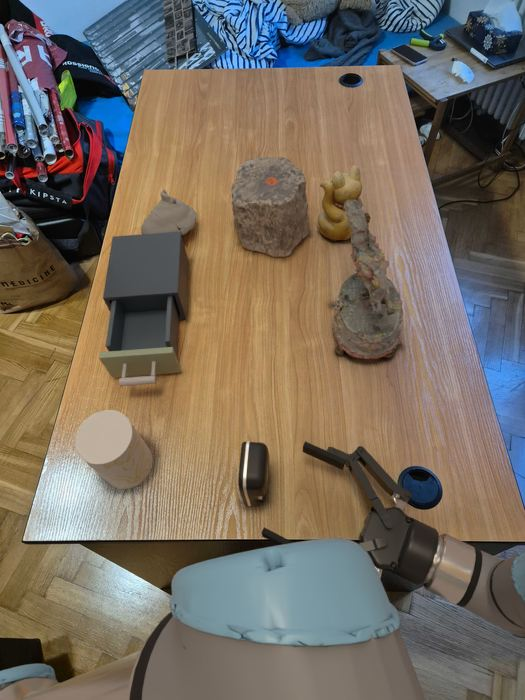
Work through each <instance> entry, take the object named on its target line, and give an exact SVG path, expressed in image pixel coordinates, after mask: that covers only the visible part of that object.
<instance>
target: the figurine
mask: <svg viewBox="0 0 525 700" xmlns="http://www.w3.org/2000/svg"><path fill="white" fill-rule="evenodd" d="M344 207H345V212H346V216H347V217H348V223H349V224H350V227H351V230H352V232H351V237H350V241H351V254H350V257H351V259H352V262H353V265H354V266H355V273H353V274H351V275H350V276H348V277H347V279H346V280H344V282H343V283H342V284H341V285H342V286H341V287H340V290H339V292H338V296H337V298H336V301H335V303H333V304H331V306H334V312H333V321H332V331H333V333H334V336H335V340H336V341H337V345H338V346H337V347H336V348H335V349H334V351H335V353H336V354H337V355H338V356H340V357H349V358H350V357H351V358H355V359H363V360H364V359H365V360H377V359H380V358H383V357H385V358H386V359H392V358H393V357H394V356H395V352H397V351H398V350H399V349H400V348H401V347H402V346H403V341H402V339H401V338H400V335H401V331H402V327H403V325H402V322H403V321H404V319H403V318H404V311H403V302H402V298H401V295H400V293H399V292H398V289H397V288H396V286H395V285H394V283H393V282H392V280H391V279H390V278H388V277H387V268H388V267H389V266H390V261H389V260H386V258H385V252H382V251H383V250H382V248H380V243H379V242H378V243H377V242H376V241H377V238H376V236H374V235H373V233H372V232H370V229H369V223H370V222H371V219H372V218H371V216H370V214H369V213H368V212H366V213H365V212H364V210H363V207H364V204H363V201H362V202H360V201H357V200H347V201H346V202H344ZM361 208H362V209H361Z"/></svg>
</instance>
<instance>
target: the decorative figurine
mask: <svg viewBox="0 0 525 700" xmlns="http://www.w3.org/2000/svg"><path fill="white" fill-rule="evenodd" d="M361 176H362V175H361V170H360V166H359V165H358V164H353V165H352V166H350V169H349V172H341V171H339V170H338V171H335V172H334V173H333V175H332V179H331V180H330V179H324V180H322V181H321V183H320V184H319V186H320V188H322V189H323V190H324V195H323V197H322V201H321V207H322V210H323V211H322V212H320V214H319V216H318V219H317V224H316V227H317V230H318V231H319V232H320V233H321V235H323V236H324V237H325V238H326V239H329V240H330V241H331V242H332V243H334V242H336V241H341V240H342V241H343V240H344V241H348V240H349V239H351V232H352V230H351V227H350V224H349V223H348V217H347V216H346V212H345V207H344V202H346V201H347V200H357V201H360V202H362V203H363V201H362V199H361V195H362V193H363V192H362V191H363V182H362V180H361ZM361 209H362V210H363V207H362V208H361Z"/></svg>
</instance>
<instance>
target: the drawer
mask: <svg viewBox="0 0 525 700" xmlns="http://www.w3.org/2000/svg"><path fill="white" fill-rule="evenodd" d="M179 322H180V321H179V308H178V305H177V302H176V299H175V296H174V295H173V296H159V297H146V298H133V299H119V300H112V305H111V312H110V311H109V318H108V328H107V333H106V339H105V348H106V350H107V351H100V352H99V360H100V362H101V363H102V365H103V366H104V368H105V369H106V371H107V372H108V374H109V376H110V377H111V378H119V379H118V384H119V386H120V387H132V386H143V385H156V384H157V383H158V379H157V376H156V375H162V374H163V375H165V374H177V373H178V374H179V373H181V368H182V367H181V365H180V362H179V359H178V342H179V341H178V338H179Z"/></svg>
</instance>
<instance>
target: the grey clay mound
mask: <svg viewBox="0 0 525 700" xmlns="http://www.w3.org/2000/svg"><path fill="white" fill-rule="evenodd" d="M160 198H161V199H160V200H159V202H158V203H157V204H156V205H155V206H154V207H153V208H152V209H151V211H150V213H148V215H147V216H146V218H145V219H144V220H143V221H142V224H141V227H140V231H141V233H140V234H154V233H167V232H180V231H181V234H182V236H185V235H186V234H188V232H189V231H191V230H192V229H193V228H194V227H195V225H196V223H197V219H196V218H197V217H198V214H197V212H196V210H195V209H194V208H193V207H192V206H190V205H189V204H186V203H185V202H184V201H182V200H180V199H178V198H176V197H173V196H170V195H169V194H168V192H167V190H166V188H163V189H162V190H161V192H160Z"/></svg>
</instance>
